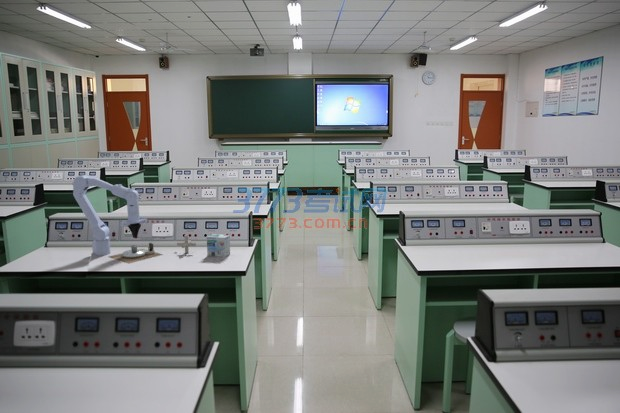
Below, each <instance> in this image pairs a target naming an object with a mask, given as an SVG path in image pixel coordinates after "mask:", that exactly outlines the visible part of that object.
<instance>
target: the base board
mask: <svg viewBox="0 0 620 413" xmlns="http://www.w3.org/2000/svg"><path fill="white" fill-rule="evenodd" d="M142 249H143V250H146V249H145V248H142ZM122 253H123V252H121V253H117V254H113V255H108V258H110V259H114V260H117V261H120V262H122V263H124V264H125V263H126V264H129V265H130V264H133V263H137V262H141V261H144V260H147V259H151V258H156V257H160V256H164V254H162V253H158V252H156V251H155V254H146V255H145V256H142V257H138V258H124V257H122Z"/></svg>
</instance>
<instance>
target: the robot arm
mask: <svg viewBox="0 0 620 413" xmlns="http://www.w3.org/2000/svg"><path fill="white" fill-rule="evenodd" d="M72 187H73V188H72V193H73V194H72V195H73V197H74V199H75V201H76V203H77V204H78V205H79V208H80V209H81V211H82V213H83V214H84V216H85V217H86V220H87V221H88V222H89V224H90V231H91V232H92V237H93V241H92V242H91V246H92V248H91V249H92V253H93V254H95V255H96V256H107V255H110V254H111V242H110V236H109V235H110V234H111V229H110V227H109V226H107V225H106V223H105V222H103V221H102V219H100V217H99V215H98V213H97V212H96V210H95V208H94V207H93V205H92V203H91V201H90V200H89V198H88V196H87V195H86V194H87V191H88V189H90V187H98V188H101V189H104V190H107V191H110V192H111V194H112V195H114V196H116V197H118V198H122V199H125V201H126V207H127V210H126V211H127V221H126V220H125V221H123V222H120V225H119V226H120V227H128V229H129V230H130V231H129V232H131V236H132V237H133V238H134V239H137V238H138V236H139V233H140V229H141V226H142V224H143V223H148V218H140V209H139V208H140V206H139V198H140V193H139V191H137V189H133V188H132V189H131V188H130V187H125V186H123V184H122V183H119V184H114V185H113V184H111V183H109V182H107V181H104V180H102V179H100V178H97V177H95V176H92V175H89V174H82V175H79V176H76V177H75V178H74V179H73V182H72ZM93 254H90V255H91V256H92V255H93Z"/></svg>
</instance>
